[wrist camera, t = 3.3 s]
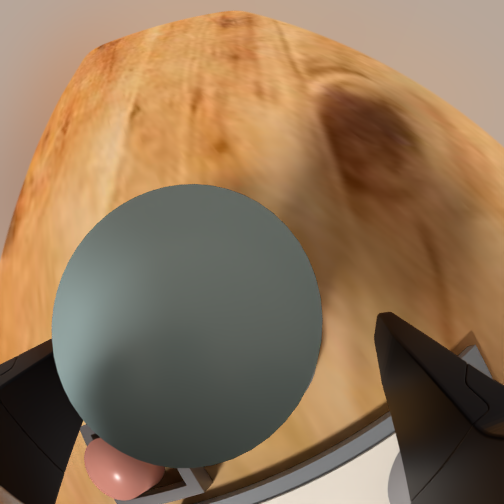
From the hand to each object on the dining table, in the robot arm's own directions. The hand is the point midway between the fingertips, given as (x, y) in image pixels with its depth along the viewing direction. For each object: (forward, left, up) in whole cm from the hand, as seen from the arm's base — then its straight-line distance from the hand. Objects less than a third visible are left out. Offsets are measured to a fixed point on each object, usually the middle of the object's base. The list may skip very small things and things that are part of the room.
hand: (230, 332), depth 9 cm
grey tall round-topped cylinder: (0, 0, -8) cm, 8 cm away
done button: (-9, -3, -6) cm, 12 cm away
